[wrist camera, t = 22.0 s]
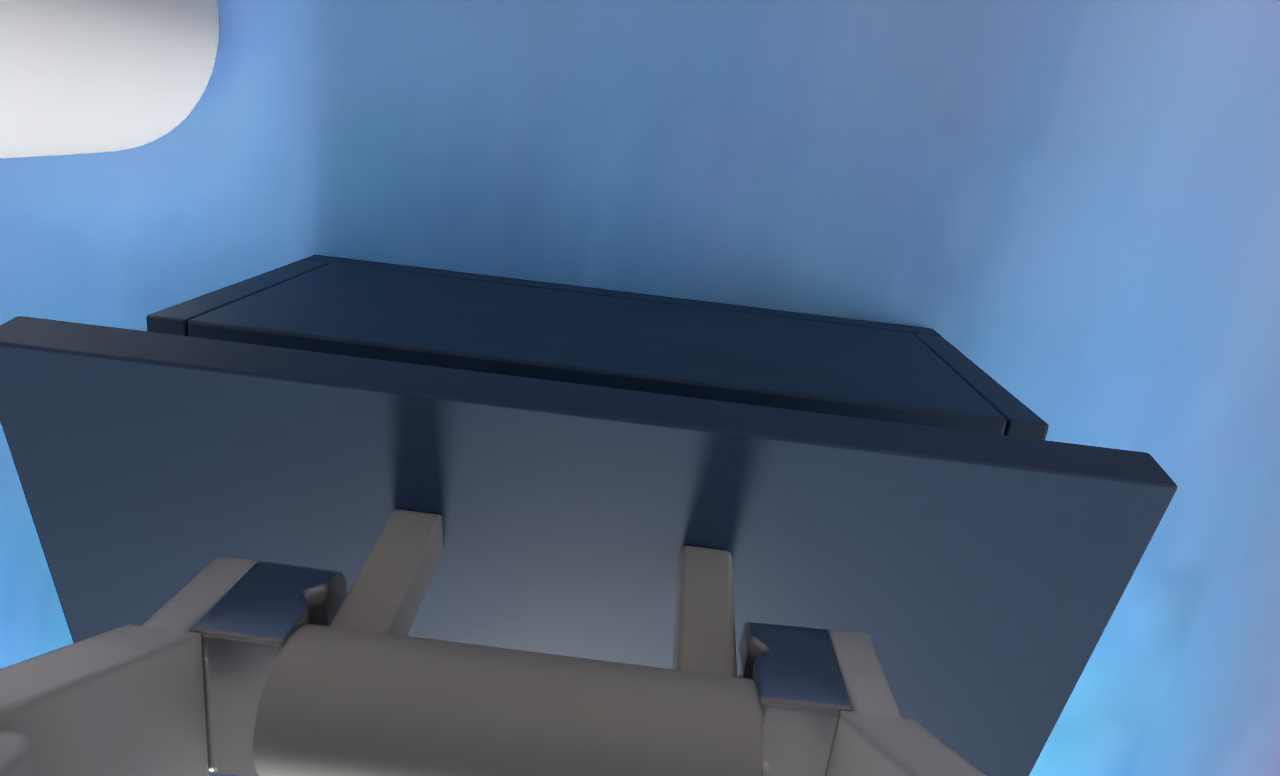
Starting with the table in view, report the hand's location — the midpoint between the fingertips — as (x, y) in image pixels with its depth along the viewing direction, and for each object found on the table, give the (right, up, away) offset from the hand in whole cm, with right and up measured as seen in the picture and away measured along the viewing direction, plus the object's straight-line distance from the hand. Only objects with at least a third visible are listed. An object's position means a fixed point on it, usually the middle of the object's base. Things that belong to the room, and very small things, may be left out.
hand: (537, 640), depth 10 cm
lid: (0, -3, +4) cm, 5 cm away
